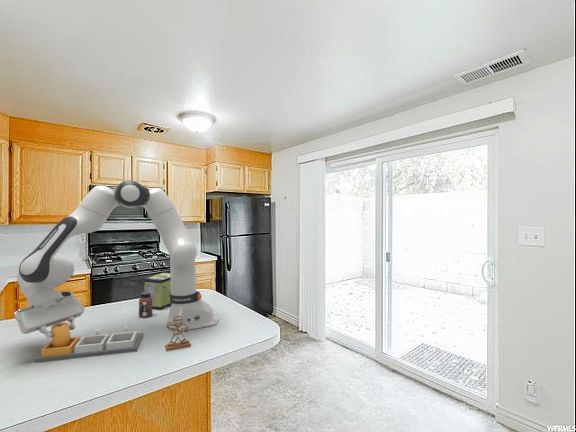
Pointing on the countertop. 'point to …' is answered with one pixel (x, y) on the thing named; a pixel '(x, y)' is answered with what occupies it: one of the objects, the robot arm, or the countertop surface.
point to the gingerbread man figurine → (179, 344)
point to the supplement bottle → (145, 305)
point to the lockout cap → (60, 335)
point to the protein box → (159, 290)
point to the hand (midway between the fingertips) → (62, 332)
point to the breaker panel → (92, 346)
